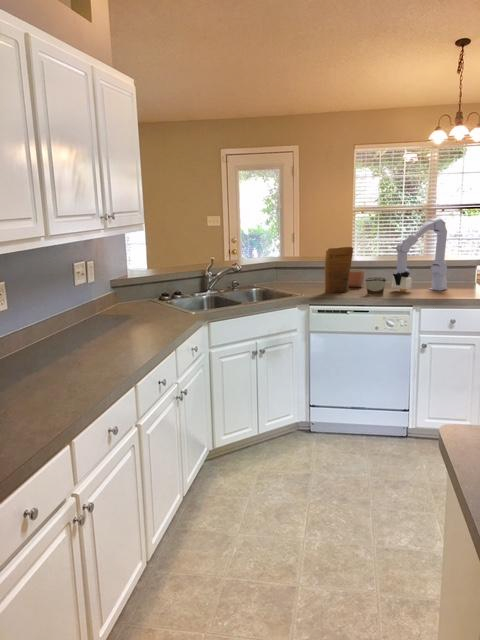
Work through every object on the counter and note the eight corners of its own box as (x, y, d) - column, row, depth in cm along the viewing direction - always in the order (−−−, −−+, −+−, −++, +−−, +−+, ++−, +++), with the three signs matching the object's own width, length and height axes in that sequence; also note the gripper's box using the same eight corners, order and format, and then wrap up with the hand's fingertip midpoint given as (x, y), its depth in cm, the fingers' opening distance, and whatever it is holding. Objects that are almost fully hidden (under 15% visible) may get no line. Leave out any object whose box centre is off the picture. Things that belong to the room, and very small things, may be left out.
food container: (383, 293, 318) (384, 276, 315) (385, 294, 312) (386, 278, 309) (363, 293, 319) (364, 277, 317) (364, 294, 313) (365, 278, 311)
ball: (405, 281, 321) (410, 287, 319) (400, 287, 324) (405, 293, 322) (401, 282, 318) (406, 288, 316) (396, 288, 321) (401, 294, 319)
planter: (352, 288, 335) (353, 272, 333) (341, 286, 346) (341, 269, 344) (368, 287, 340) (368, 270, 338) (356, 284, 351) (357, 268, 349)
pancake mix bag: (354, 292, 322) (355, 247, 316) (325, 294, 318) (326, 248, 311) (349, 290, 328) (350, 246, 322) (321, 292, 324) (322, 247, 318)
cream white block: (396, 285, 327) (397, 275, 325) (410, 288, 320) (411, 278, 318) (391, 287, 323) (392, 276, 321) (405, 289, 316) (406, 279, 314)
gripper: (401, 264, 310) (400, 286, 313) (414, 262, 320) (412, 283, 323) (391, 263, 316) (390, 285, 319) (403, 261, 325) (402, 282, 328)
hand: (400, 284), depth 321 cm, fingers closed on cream white block, 6 cm apart
